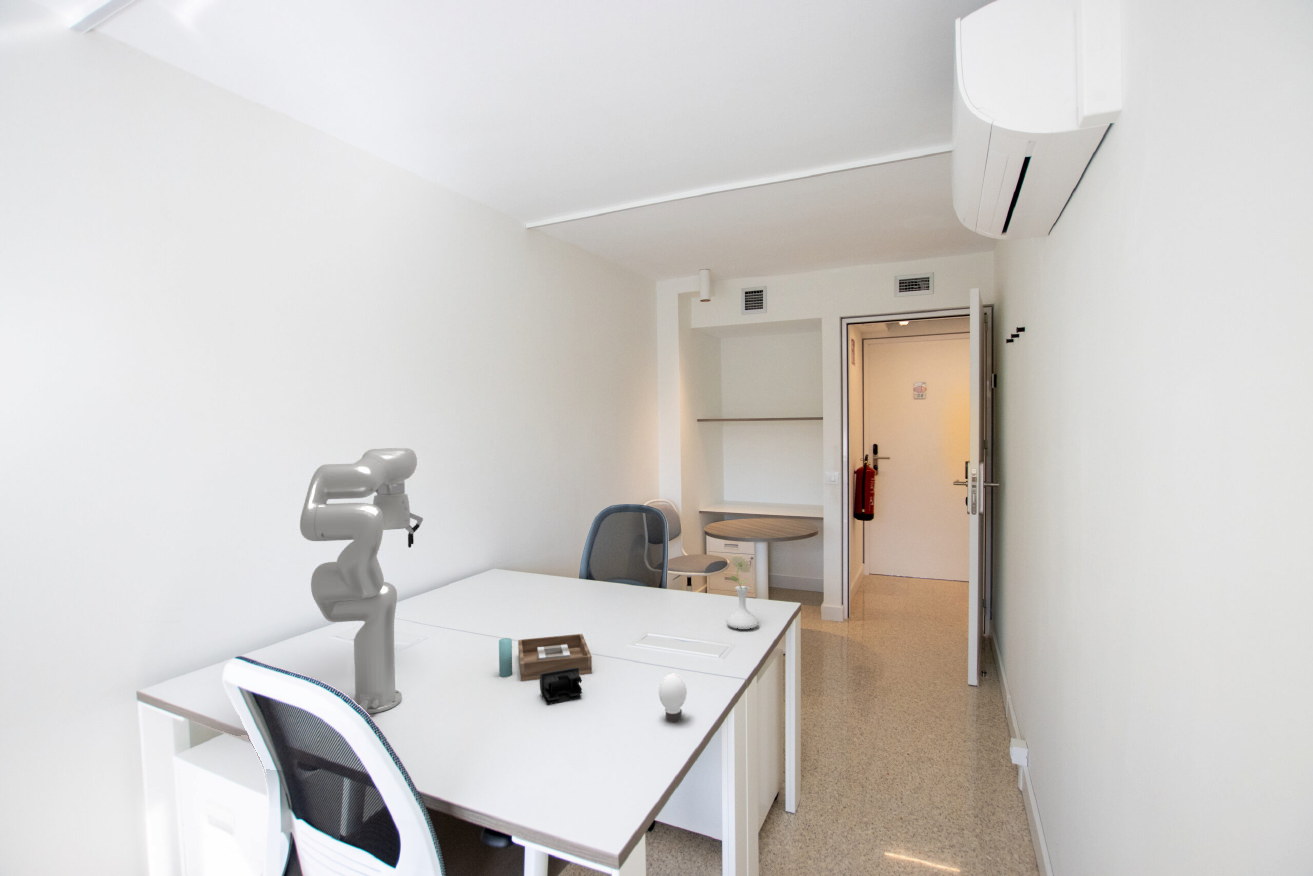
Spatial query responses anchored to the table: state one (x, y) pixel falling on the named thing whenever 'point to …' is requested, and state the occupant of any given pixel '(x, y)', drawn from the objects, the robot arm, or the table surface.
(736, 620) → the flower in vase
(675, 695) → the light bulb
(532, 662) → the box
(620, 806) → the table surface
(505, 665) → the peg
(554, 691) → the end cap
